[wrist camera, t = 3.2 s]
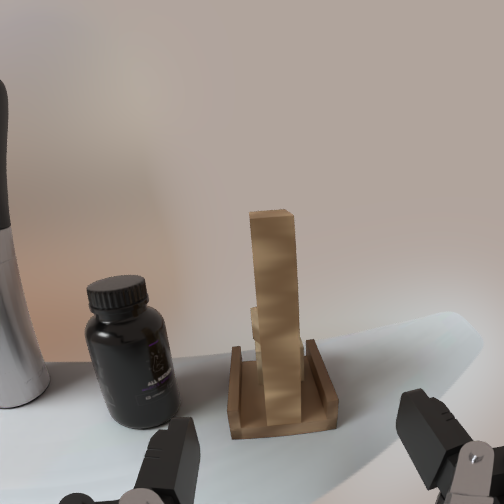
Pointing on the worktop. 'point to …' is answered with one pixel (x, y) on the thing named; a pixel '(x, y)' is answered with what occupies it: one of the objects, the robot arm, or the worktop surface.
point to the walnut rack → (253, 399)
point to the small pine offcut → (255, 324)
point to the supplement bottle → (131, 353)
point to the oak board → (278, 313)
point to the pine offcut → (259, 362)
